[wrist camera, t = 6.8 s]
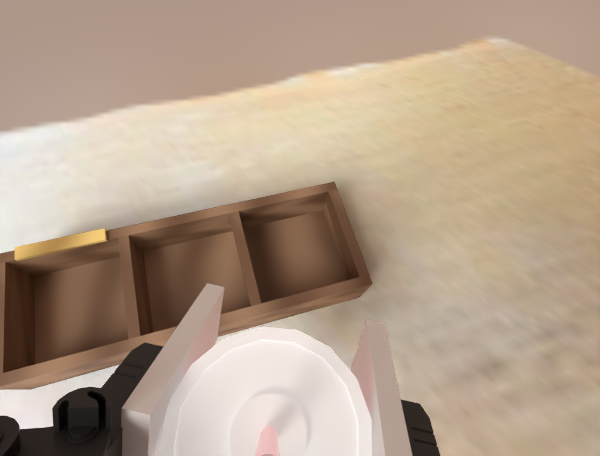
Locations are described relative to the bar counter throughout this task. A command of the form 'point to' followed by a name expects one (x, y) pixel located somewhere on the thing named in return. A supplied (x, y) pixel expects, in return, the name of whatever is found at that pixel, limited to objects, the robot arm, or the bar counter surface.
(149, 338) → the brown wooden compartment tray
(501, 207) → the bar counter surface
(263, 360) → the beverage cup
